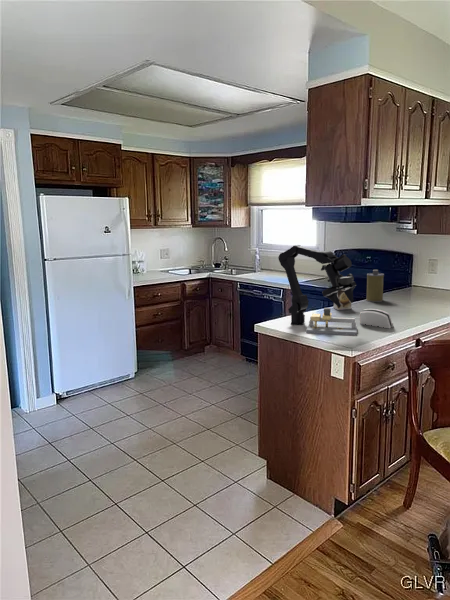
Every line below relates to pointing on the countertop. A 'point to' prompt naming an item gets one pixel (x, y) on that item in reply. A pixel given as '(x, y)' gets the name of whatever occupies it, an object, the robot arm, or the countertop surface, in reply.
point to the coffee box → (342, 301)
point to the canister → (375, 286)
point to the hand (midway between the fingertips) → (346, 304)
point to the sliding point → (326, 315)
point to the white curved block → (375, 318)
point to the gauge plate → (331, 326)
